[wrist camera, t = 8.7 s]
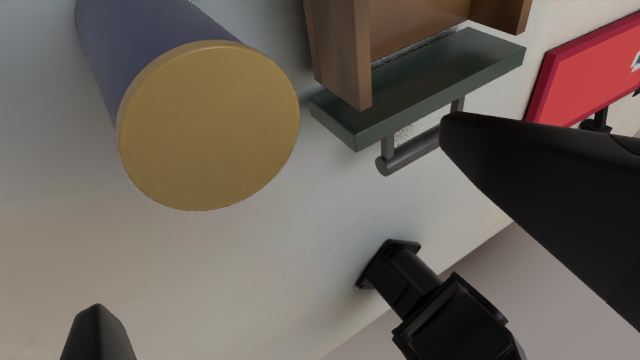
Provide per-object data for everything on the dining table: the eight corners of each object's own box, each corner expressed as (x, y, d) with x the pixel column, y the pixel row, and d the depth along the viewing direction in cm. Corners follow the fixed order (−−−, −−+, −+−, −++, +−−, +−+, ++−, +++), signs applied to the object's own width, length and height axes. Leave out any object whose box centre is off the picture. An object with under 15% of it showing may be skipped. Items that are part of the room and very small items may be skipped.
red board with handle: (644, 91, 55) (705, -21, 45) (666, 99, 53) (734, -16, 43) (503, 172, 45) (542, 50, 35) (524, 185, 43) (571, 60, 33)
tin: (207, 3, 17) (329, 89, 10) (167, 93, 18) (253, 220, 12) (94, -62, 14) (168, 4, 7) (55, 53, 15) (88, 198, 8)
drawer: (457, 99, 30) (506, 125, 27) (320, 171, 26) (360, 211, 23) (516, -301, 16) (631, -338, 13) (243, -276, 12) (317, -321, 9)
